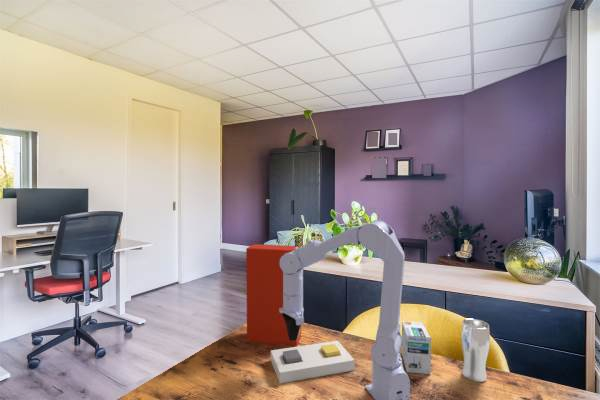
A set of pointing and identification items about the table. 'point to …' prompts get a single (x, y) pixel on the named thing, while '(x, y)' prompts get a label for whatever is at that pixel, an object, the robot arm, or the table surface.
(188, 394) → the table surface
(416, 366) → the light bulb box
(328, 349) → the mustard key
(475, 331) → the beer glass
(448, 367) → the table surface
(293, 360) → the graphite key
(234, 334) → the table surface
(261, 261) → the file binder
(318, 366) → the board
